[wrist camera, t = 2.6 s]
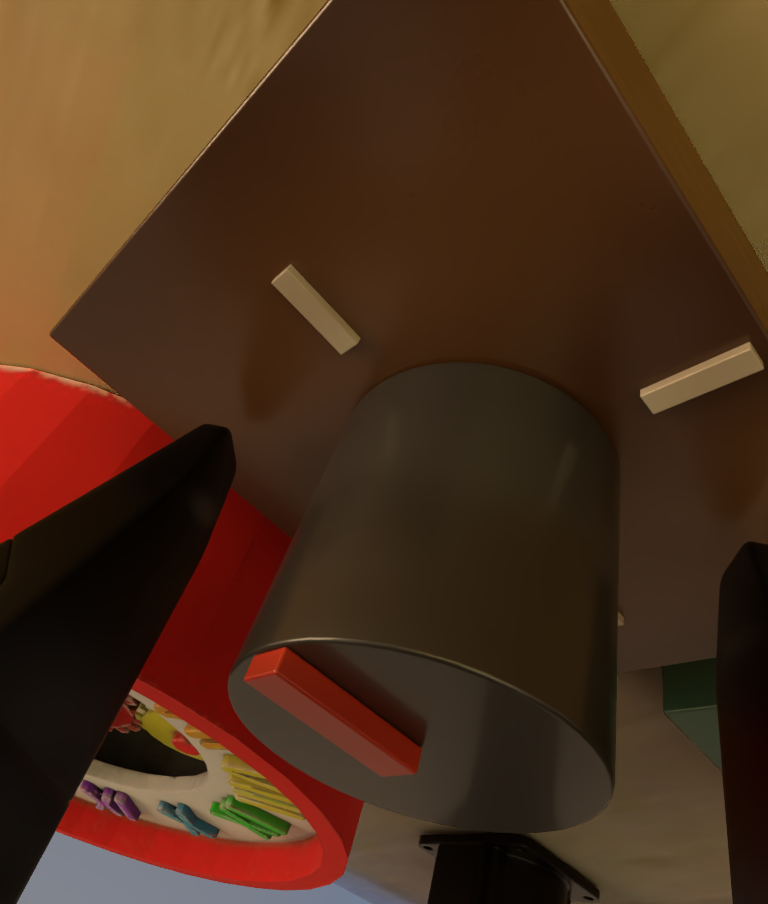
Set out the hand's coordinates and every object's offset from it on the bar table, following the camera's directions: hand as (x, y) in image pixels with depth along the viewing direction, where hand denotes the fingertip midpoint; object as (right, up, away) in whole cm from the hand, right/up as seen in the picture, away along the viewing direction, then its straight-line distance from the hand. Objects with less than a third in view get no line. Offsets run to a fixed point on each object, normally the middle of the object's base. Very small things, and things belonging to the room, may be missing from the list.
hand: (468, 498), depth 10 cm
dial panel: (+1, +2, +2) cm, 4 cm away
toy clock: (-10, -4, +13) cm, 17 cm away
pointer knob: (0, 0, 0) cm, 1 cm away
